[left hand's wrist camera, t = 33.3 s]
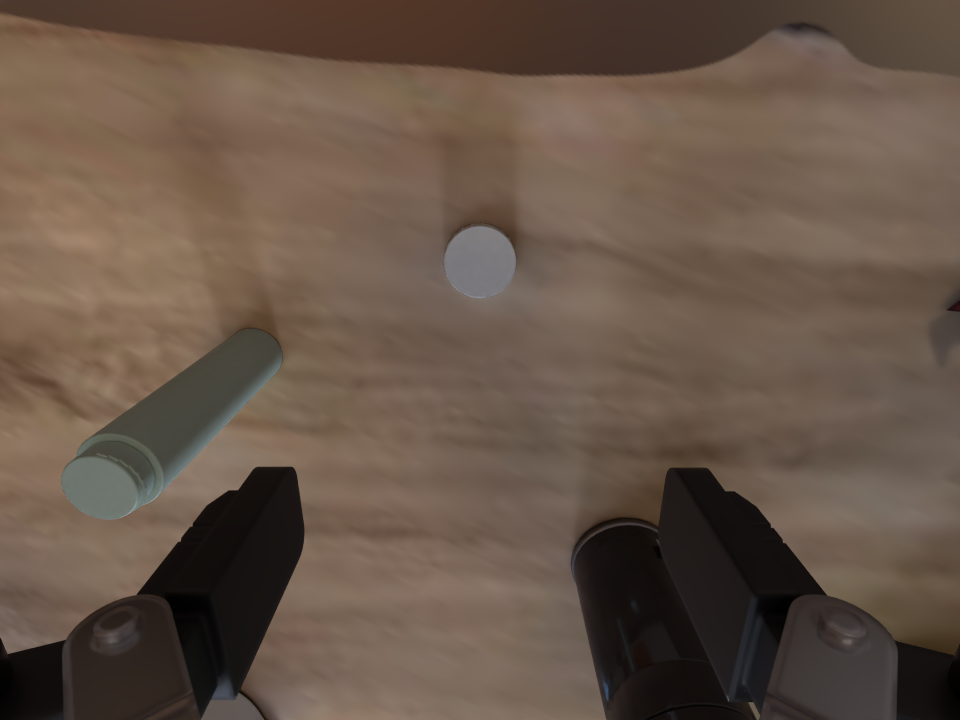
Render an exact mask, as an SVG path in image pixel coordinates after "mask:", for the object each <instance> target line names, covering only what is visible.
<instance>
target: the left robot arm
mask: <svg viewBox="0 0 960 720" xmlns="http://www.w3.org/2000/svg"><path fill="white" fill-rule="evenodd" d="M782 540H783V539H782V538H781V537H780V536H779V534H778V533H777V532H776V531H775V529H774V528H771V524H770V523H769V522H768V521H767V519H766V518H765V517H764V516H763V514H762V513H761V512H760V511H759V509H758V508H757V507H756V506H755V505H753V504H752V503H750V502H749V501H747V500H746V499H745V498H743V497H742V496H740V495H739V494H737V493H736V492H734V491H725V490H724V489H723V488H722V486H721V485H720V484H719V482H718V481H717V480H716V478H715V477H714V476H713V474H712V473H711V471H710V470H709V469H707V468H670V469H669V470H668V472H667V474H666V479H665V486H664V493H663V500H662V506H661V513H660V520H659V528H657V527H656V526H654V525H652V524H650V523H648V522H645V521H641V520H636V519H618V520H613V521H609V522H606V523H603V524H601V525H599V526H597V527H595V528H593V529H591V530H590V531H589V532H587V533H586V534H585V535H584V536H583V537H582V538H581V539H580V541H579V542H578V543H577V545H576V547H575V549H574V551H573V554H572V558H571V569H572V574H573V578H574V581H575V583H576V586H577V590H578V595H579V600H580V605H581V609H582V614H583V618H584V623H585V627H586V632H587V636H588V640H589V645H590V649H591V654H592V658H593V663H594V667H595V672H596V676H597V680H598V685H599V689H600V694H601V698H602V703H603V707H604V711H605V716H606V720H757V719H756V717H755V715H754V713H753V711H752V709H751V707H750V705H749V703H748V702H754V704H755V706H756V708H757V710H758V712H759V714H760V718H759V720H960V645H959V647H958V649H957V652H956V654H955V656H954V655H950V654H946V653H941V652H937V651H933V650H929V649H925V648H921V647H917V646H913V645H909V644H905V643H901V642H898V641H894V639H893V638H892V636H891V634H890V633H889V632H888V631H887V629H886V628H885V627H884V626H883V625H882V624H881V623H880V622H879V621H877V620H876V619H875V618H874V617H872V616H871V615H870V614H868V613H867V612H865V611H864V610H862V609H860V608H858V607H857V606H855V605H853V604H850V603H848V602H846V601H843V600H841V599H838V598H834V597H830V596H827V595H826V593H825V592H824V591H823V590H822V588H821V587H820V586H819V585H818V583H817V582H816V581H815V580H814V578H813V577H812V576H811V575H810V573H809V572H808V571H807V570H806V568H805V567H804V566H803V565H802V563H801V562H800V561H799V560H798V558H797V557H796V556H795V555H794V553H793V552H792V551H791V549H790V548H789V547H788V546H787V544H786V543H783V541H782ZM303 544H304V521H303V514H302V507H301V500H300V493H299V486H298V479H297V474H296V471H295V469H294V468H293V467H256V468H254V469H253V471H252V472H251V473H250V475H249V476H248V477H247V479H246V480H245V482H244V483H243V484H242V486H241V487H240V488H239V490H229V491H227V492H226V493H224V494H223V495H221V496H220V497H219V498H217V499H216V500H214V501H213V502H211V503H210V504H208V505H207V506H206V507H205V509H204V510H203V511H202V512H201V514H200V515H199V516H198V518H197V519H196V520H195V521H194V523H193V527H190V528H189V529H188V530H187V531H186V533H185V534H184V535H183V537H182V538H181V542H178V543H177V544H176V545H175V547H174V548H173V549H172V550H171V552H170V553H169V554H168V556H167V557H166V558H165V559H164V561H163V562H162V563H161V564H160V566H159V567H158V568H157V569H156V571H155V572H154V573H153V575H152V576H151V577H150V578H149V580H148V581H147V582H146V583H145V585H144V586H143V587H142V589H141V590H140V591H139V592H138V594H137V595H135V596H130V597H126V598H122V599H119V600H117V601H114V602H112V603H110V604H107V605H105V606H103V607H102V608H100V609H98V610H96V611H95V612H93V613H92V614H90V615H89V616H88V617H86V618H85V619H84V620H83V621H81V622H80V623H79V624H78V625H77V626H76V627H75V628H74V629H73V631H72V632H71V633H70V634H69V636H68V638H67V639H66V640H64V641H60V642H56V643H52V644H47V645H43V646H39V647H35V648H31V649H27V650H23V651H19V652H15V653H11V654H7V652H6V650H5V647H4V645H3V643H2V640H1V638H0V720H201V718H202V716H203V714H204V712H205V710H206V708H207V706H208V704H209V702H210V700H236V697H237V695H238V693H239V691H240V689H241V686H242V684H243V682H244V680H245V678H246V675H247V673H248V671H249V669H250V667H251V664H252V662H253V660H254V658H255V655H256V653H257V651H258V649H259V647H260V644H261V642H262V640H263V638H264V636H265V633H266V631H267V629H268V627H269V625H270V622H271V620H272V618H273V616H274V614H275V611H276V609H277V607H278V605H279V602H280V600H281V598H282V596H283V594H284V591H285V589H286V587H287V585H288V583H289V580H290V578H291V576H292V574H293V572H294V569H295V567H296V565H297V563H298V560H299V558H300V556H301V553H302V549H303Z"/></svg>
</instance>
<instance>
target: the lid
mask: <svg viewBox="0 0 960 720" xmlns="http://www.w3.org/2000/svg"><path fill="white" fill-rule="evenodd" d="M447 245H448V246H447V249H446V251H445V253H444V255H445V257H444V267H445V272H446V275H447V277H448V279H449V281H450V282H451V284H452V285H453V286H454V287H455V288H456V289H457V290H458V291H460V292H461V293H463V294H465V295H467V296H470V297H475V298H485V297H490V296H493V295H495V294H497V293H499V292H500V291H502V290H503V289H504V288H505V287H506V286H507V285H508V284H509V282H510V281H511V279H512V277H513V275H514V272H515V270H516V259H517V258H516V255H515V252H514V249H515V248H514V245H513V246H512V244H511V242H510V238H509V236H508V237H507V236H506V234H504V233H503V231H502V229H501V230H500V229H498V228H496V227H495V226H493V224H492V225H489V224H483V222H482V223H477V224H473V223H471V225H468V226H466V227H464V228H463V227H462V228H461V230H459V231H458V232H457V233H456V234H455V233H454V235H453V237H452V239H451V240H450V242H449V241H448V244H447Z"/></svg>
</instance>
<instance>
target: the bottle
mask: <svg viewBox="0 0 960 720" xmlns="http://www.w3.org/2000/svg"><path fill="white" fill-rule="evenodd" d="M281 363H282V351H281V348H280V346H279V344H278V343H277V341H276V340H275V339H274V338H273V337H272V336H271V335H270V334H268V333H266V332H264V331H262V330H259V329H253V328H249V329H244V330H241V331H239V332H237V333H236V334H234V335H233V336H231V337H230V338H229V339H227V340H226V341H224V342H223V343H222V344H220V345H219V346H217V347H216V348H215V349H213V350H212V351H210V352H209V353H208V354H206V355H205V356H203V357H202V358H201V359H199V360H198V361H196V362H195V363H194V364H192V365H191V366H189V367H188V368H187V369H185V370H184V371H182V372H181V373H180V374H178V375H177V376H175V377H174V378H173V379H171V380H170V381H168V382H167V383H166V384H164V385H163V386H161V387H160V388H159V389H157V390H156V391H154V392H153V393H152V394H150V395H149V396H147V397H146V398H145V399H143V400H142V401H140V402H139V403H138V404H136V405H135V406H133V407H132V408H131V409H129V410H128V411H126V412H125V413H123V414H122V415H121V416H119V417H118V418H116V419H115V420H114V421H112V422H111V423H109V424H108V425H107V426H105V427H104V428H102V429H101V430H100V431H98V432H97V433H95V434H94V435H93V436H91V437H90V438H88V439H87V440H86V441H85V442H84V443H82V445H81V446H80V447H79V449H78V452H77V455H76V458H75V459H73V460H72V461H71V462H69V463H68V464H67V466H66V467H65V468H64V471H63V473H62V477H61V484H62V488H63V491H64V493H65V495H66V497H67V498H68V500H69V501H70V502H71V503H72V504H73V505H74V506H75V507H76V508H78V509H79V510H80V511H82V512H84V513H85V514H87V515H90V516H92V517H95V518H99V519H118V518H121V517H124V516H126V515H128V514H129V513H131V512H132V511H134V510H136V509H138V508H139V507H140V506H142V505H145V504H147V503H149V502H151V501H153V500H154V499H155V498H156V497H157V496H158V495H159V494H160V493H161V492H162V491H163V490H164V489H165V488H166V487H167V486H168V485H169V484H170V483H171V482H172V481H173V480H174V479H175V478H176V477H177V475H178V474H179V473H180V472H181V471H182V470H183V469H184V468H185V467H186V466H187V465H188V464H189V463H190V462H191V461H192V460H193V459H194V458H195V457H196V456H197V455H198V454H199V452H200V451H201V450H202V449H203V448H204V447H205V446H206V445H207V444H208V443H209V442H210V441H211V440H212V439H213V438H214V437H215V436H216V435H217V434H218V433H219V432H220V431H221V429H222V428H223V427H224V426H225V425H226V424H227V423H228V422H229V421H230V420H231V419H232V418H233V417H234V416H235V415H236V414H237V413H238V412H239V411H240V410H241V409H242V408H243V406H244V405H245V404H246V403H247V402H248V401H249V400H250V399H251V398H252V397H253V396H254V395H255V394H256V393H257V392H258V391H259V390H260V389H261V388H262V387H263V386H264V385H265V383H266V382H267V381H268V380H269V379H270V378H271V377H272V376H273V375H274V374H275V373H276V372H277V371H278V370H279V368H280V366H281Z"/></svg>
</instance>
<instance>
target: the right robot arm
mask: <svg viewBox="0 0 960 720" xmlns="http://www.w3.org/2000/svg"><path fill="white" fill-rule="evenodd" d="M201 720H264V718H263V717H262V715H261V714H260V712H259V711H258V709H257V708H256V707H255V706H254V705H253V704H252V703H251V702H250V701H249V700H248V699H247V698H246V697H244V696H243V695H242V694H240V693H238V695H237V697H236V700H210V702H209V704H208V706H207V708H206V710H205V712H204V714H203V716H202V718H201Z"/></svg>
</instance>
